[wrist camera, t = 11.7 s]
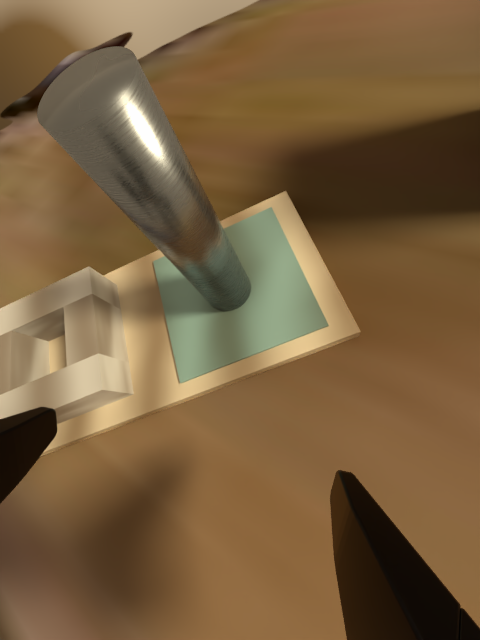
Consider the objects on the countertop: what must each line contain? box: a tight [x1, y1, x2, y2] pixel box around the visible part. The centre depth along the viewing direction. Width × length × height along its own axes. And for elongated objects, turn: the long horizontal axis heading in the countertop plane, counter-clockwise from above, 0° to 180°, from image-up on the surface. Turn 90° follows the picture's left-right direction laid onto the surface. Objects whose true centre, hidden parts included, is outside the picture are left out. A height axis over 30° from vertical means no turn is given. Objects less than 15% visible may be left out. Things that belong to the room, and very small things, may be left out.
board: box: [0, 191, 361, 457], centre depth 20 cm, size 26×12×4 cm, turn 109°
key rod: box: [37, 47, 251, 311], centre depth 14 cm, size 3×3×13 cm
